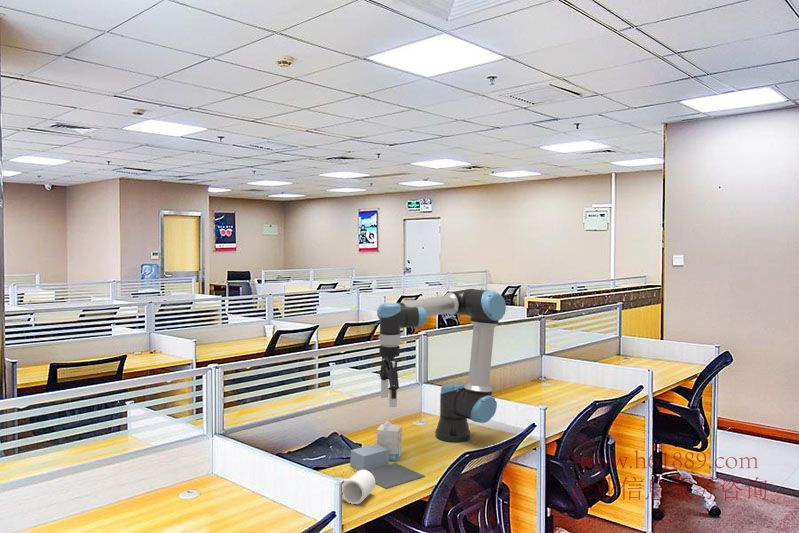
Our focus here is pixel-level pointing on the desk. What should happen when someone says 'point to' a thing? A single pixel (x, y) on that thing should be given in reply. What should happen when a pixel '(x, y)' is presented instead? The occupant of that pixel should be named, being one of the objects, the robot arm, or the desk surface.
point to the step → (369, 457)
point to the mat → (394, 475)
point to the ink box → (390, 439)
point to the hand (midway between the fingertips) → (388, 402)
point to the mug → (358, 486)
